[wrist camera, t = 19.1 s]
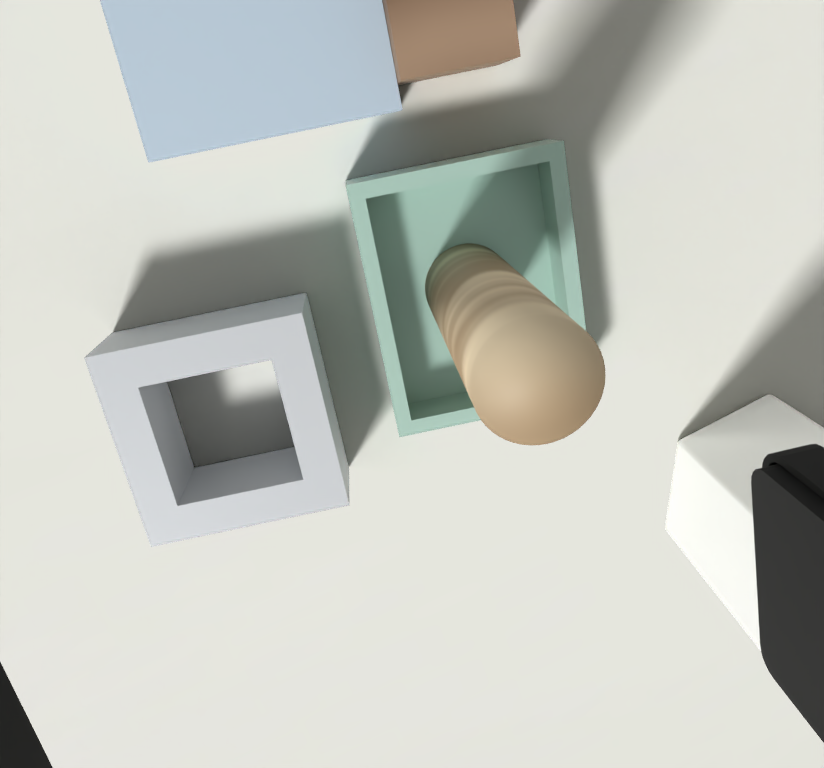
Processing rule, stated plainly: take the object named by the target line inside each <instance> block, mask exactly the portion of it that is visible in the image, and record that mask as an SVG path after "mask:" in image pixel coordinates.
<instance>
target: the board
mask: <svg viewBox="0 0 824 768" xmlns="http://www.w3.org/2000/svg"><path fill="white" fill-rule="evenodd" d="M100 2H101V5H102V8H103V12H104V15H105V19H106V22H107V25H108V29H109V32H110V35H111V39H112V42H113V45H114V49H115V52H116V55H117V59H118V62H119V65H120V69H121V72H122V75H123V79H124V82H125V85H126V89H127V92H128V95H129V99H130V102H131V105H132V109H133V112H134V116H135V119H136V122H137V126H138V129H139V132H140V136H141V139H142V142H143V146H144V149H145V152H146V156H147V159H148V162H153V161H159V160H164V159H169V158H173V157H178V156H183V155H188V154H193V153H198V152H203V151H207V150H212V149H217V148H222V147H227V146H232V145H237V144H242V143H246V142H251V141H256V140H261V139H266V138H271V137H276V136H280V135H285V134H290V133H295V132H300V131H305V130H310V129H314V128H319V127H324V126H329V125H334V124H339V123H344V122H348V121H353V120H358V119H363V118H368V117H373V116H378V115H382V114H387V113H392V112H397V111H401V110H402V105H401V99H400V94H399V89H398V83H397V78H396V73H395V67H394V62H393V56H392V51H391V46H390V40H389V35H388V30H387V24H386V19H385V13H384V8H383V3H382V0H100Z"/></svg>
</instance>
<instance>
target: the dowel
mask: <svg viewBox="0 0 824 768" xmlns="http://www.w3.org/2000/svg"><path fill="white" fill-rule="evenodd" d="M425 295H426V299H427V302H428V305H429V307H430V309H431V312H432V314H433V316H434V318H435V321H436V323H437V325H438V327H439V330H440V332H441V334H442V336H443V339H444V341H445V343H446V345H447V348H448V350H449V352H450V354H451V357H452V359H453V361H454V363H455V366H456V368H457V370H458V372H459V375H460V377H461V379H462V381H463V384H464V386H465V388H466V390H467V393H468V395H469V397H470V399H471V402H472V404H473V406H474V408H475V410H476V413H477V414H478V416H479V418H480V419H481V421H482V422H483V423H484V424H485V426H487V427H488V428H489V429H490V430H491V431H492V432H493V433H495V434H496V435H498V436H499V437H501V438H503V439H505V440H508V441H510V442H513V443H517V444H522V445H542V444H548V443H551V442H555V441H558V440H560V439H563V438H565V437H566V436H568V435H570V434H572V433H573V432H575V431H576V430H577V429H579V428H580V427H581V426H582V425H583V424H584V423H585V422H586V421H587V420H588V419H589V418H590V417H591V415H592V414H593V412H594V411H595V409H596V408H597V406H598V404H599V402H600V399H601V396H602V394H603V390H604V385H605V365H604V360H603V357H602V354H601V351H600V349H599V347H598V345H597V344H596V342H595V341H594V339H593V338H592V337H591V336H590V335H589V334H588V333H587V331H585V330H584V329H583V328H582V327H581V326H580V325H578V324H577V323H576V322H575V321H574V320H573V319H572V318H570V317H569V316H568V315H567V314H566V313H565V312H564V311H562V310H561V309H560V308H559V307H558V306H557V305H555V304H554V303H553V302H552V301H551V300H550V299H549V298H547V297H546V296H545V295H544V294H543V293H542V292H541V291H539V290H538V289H537V288H536V287H535V286H534V285H533V284H531V283H530V282H529V281H528V280H527V279H526V278H524V277H523V276H522V275H521V274H520V273H519V272H518V271H516V270H515V269H514V268H513V267H512V266H511V265H510V264H508V263H507V262H506V261H505V260H504V259H503V258H501V257H500V256H499V255H498V254H497V253H496V252H494V251H493V250H491V249H490V248H488V247H485V246H483V245H479V244H472V243H467V244H460V245H456V246H454V247H451V248H449V249H447V250H446V251H444V252H443V253H442V254H440V255H439V256H438V257H437V258H436V259H435V261H434V262H433V263H432V265H431V267H430V268H429V271H428V273H427V276H426V281H425Z"/></svg>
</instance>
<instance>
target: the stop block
mask: <svg viewBox="0 0 824 768" xmlns="http://www.w3.org/2000/svg"><path fill="white" fill-rule="evenodd" d="M382 3H383V8H384V13H385V19H386V24H387V30H388V35H389V40H390V46H391V51H392V56H393V62H394V67H395V73H396V78H397V83H398V85H402V84H407V83H412V82H417V81H422V80H426V79H431V78H436V77H441V76H446V75H451V74H456V73H461V72H466V71H471V70H476V69H481V68H486V67H491V66H496V65H499V64H502V63H504V62H507V61H510V60H512V59H515V58H517V57H520V49H519V41H518V34H517V26H516V18H515V11H514V3H513V0H382Z"/></svg>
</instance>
